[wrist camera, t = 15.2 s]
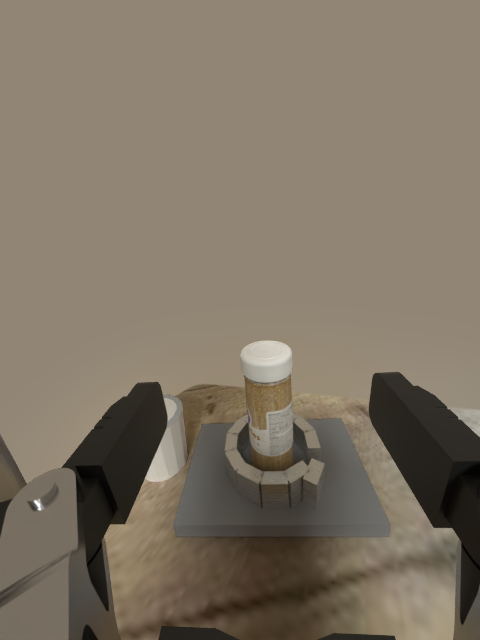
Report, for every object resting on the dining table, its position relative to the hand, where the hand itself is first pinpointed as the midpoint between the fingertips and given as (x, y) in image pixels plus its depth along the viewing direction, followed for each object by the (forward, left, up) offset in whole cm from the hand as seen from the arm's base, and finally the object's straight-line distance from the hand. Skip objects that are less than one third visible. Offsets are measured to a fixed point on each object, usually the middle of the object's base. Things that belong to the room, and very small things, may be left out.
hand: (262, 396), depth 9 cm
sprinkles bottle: (0, +12, -17) cm, 21 cm away
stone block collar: (0, +12, -17) cm, 21 cm away
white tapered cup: (-13, +14, -19) cm, 27 cm away
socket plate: (0, +12, -19) cm, 22 cm away
